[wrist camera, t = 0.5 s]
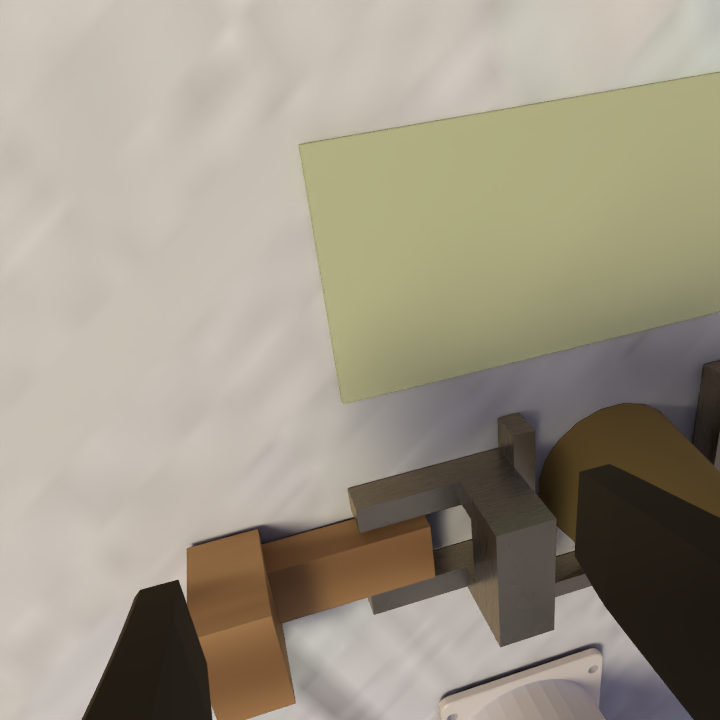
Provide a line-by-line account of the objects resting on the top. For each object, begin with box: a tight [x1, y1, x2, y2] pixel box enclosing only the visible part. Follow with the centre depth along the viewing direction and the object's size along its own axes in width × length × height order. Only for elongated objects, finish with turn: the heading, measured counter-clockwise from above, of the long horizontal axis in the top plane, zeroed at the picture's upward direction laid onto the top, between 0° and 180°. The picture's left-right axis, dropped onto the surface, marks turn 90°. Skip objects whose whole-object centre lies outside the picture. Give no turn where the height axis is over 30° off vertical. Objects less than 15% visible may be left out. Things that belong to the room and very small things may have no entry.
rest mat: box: [299, 72, 720, 404], centre depth 19 cm, size 8×14×1 cm, turn 98°
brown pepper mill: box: [539, 403, 720, 542], centre depth 20 cm, size 6×6×11 cm
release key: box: [187, 515, 435, 720], centre depth 21 cm, size 4×8×4 cm, turn 98°
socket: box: [348, 360, 720, 647], centre depth 22 cm, size 8×15×4 cm, turn 98°
